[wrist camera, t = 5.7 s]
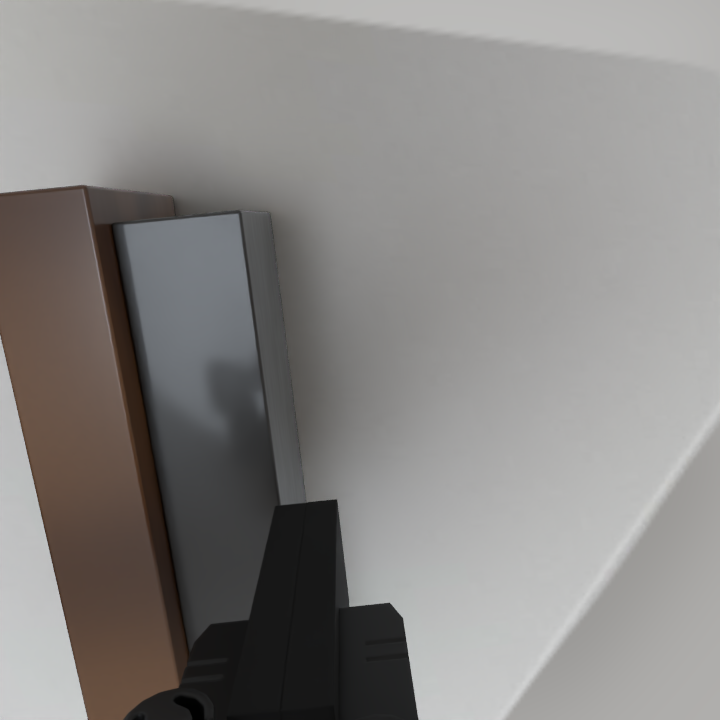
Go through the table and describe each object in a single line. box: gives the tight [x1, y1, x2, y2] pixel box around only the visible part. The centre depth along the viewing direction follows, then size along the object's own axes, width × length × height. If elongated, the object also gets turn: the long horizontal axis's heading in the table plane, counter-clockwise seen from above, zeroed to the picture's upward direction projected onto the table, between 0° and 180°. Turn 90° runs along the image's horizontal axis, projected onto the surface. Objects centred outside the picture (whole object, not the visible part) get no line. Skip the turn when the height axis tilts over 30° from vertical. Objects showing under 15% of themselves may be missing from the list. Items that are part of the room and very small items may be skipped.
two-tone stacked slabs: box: [0, 185, 306, 720], centre depth 19 cm, size 18×6×7 cm, turn 5°
